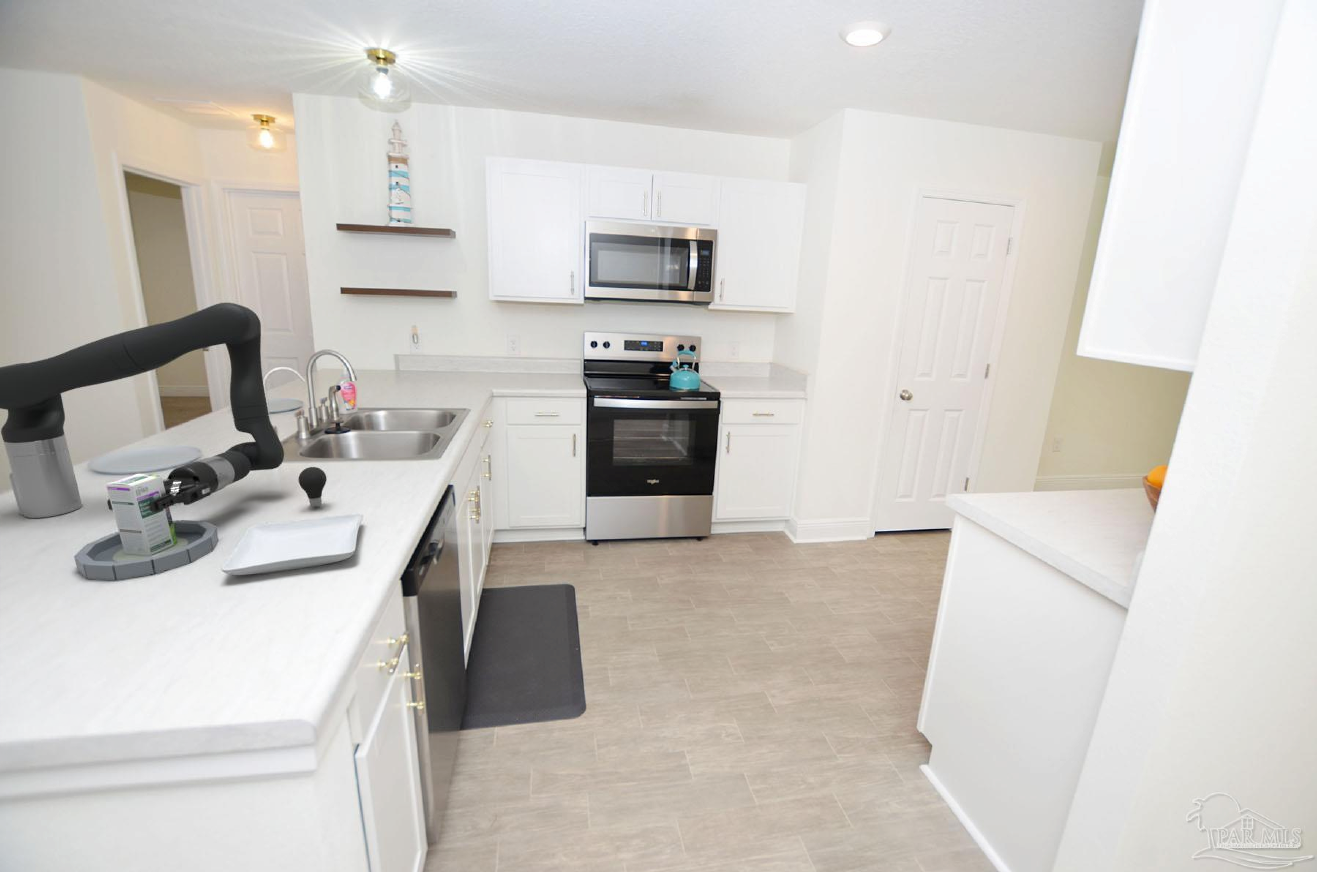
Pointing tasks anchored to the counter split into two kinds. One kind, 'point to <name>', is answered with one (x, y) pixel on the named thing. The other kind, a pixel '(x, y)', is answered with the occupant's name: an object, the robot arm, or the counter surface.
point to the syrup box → (141, 514)
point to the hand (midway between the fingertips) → (130, 506)
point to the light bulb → (313, 484)
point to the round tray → (115, 564)
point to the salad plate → (294, 544)
